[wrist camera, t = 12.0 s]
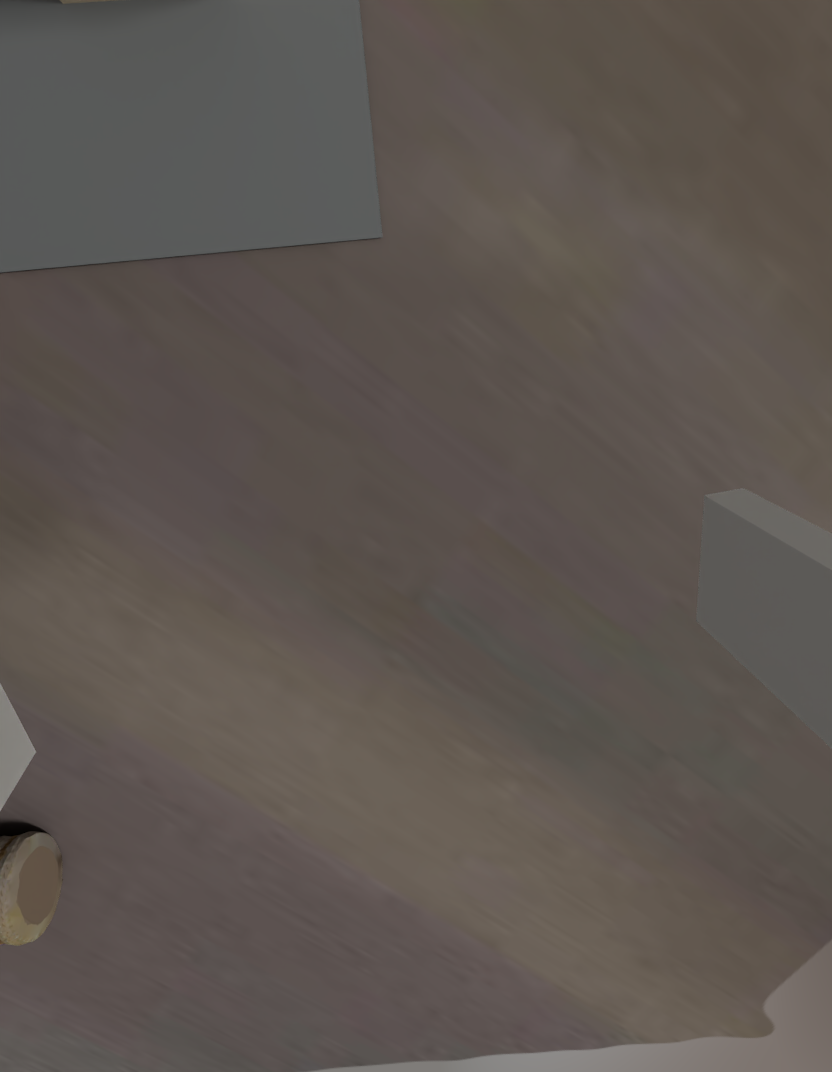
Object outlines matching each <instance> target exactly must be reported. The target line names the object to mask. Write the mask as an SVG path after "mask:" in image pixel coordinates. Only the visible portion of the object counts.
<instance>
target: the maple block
mask: <svg viewBox="0 0 832 1072" xmlns="http://www.w3.org/2000/svg"><path fill="white" fill-rule="evenodd" d="M60 1H61V2H62V3H63V4H66V3H83V2H99V1H116V0H60Z"/></svg>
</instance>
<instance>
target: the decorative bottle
mask: <svg viewBox="0 0 832 1072" xmlns="http://www.w3.org/2000/svg"><path fill="white" fill-rule="evenodd" d="M62 881H63V879H62V856H61V853H60V850H59V848H58V846H57V844H56V842H55V841H54V839H53V838H52V837H51V836H50V835H49V834H47V833H44V832H36V831H30V832H26V833H23V834H21V835H15V836H0V945H4V944H9V945H16V946H19V945H22V944H25V943H29V942H33V941H34V940H36V939H37V938H38V937H39V936H41V935H42V934H43V932H44V931H45V929H46V928H47V926H48V925H49V923H50V922H51V920H52V918H53V915H54V913H55V911H56V907H57V902H58V899H59V896H60V893H61V890H60V889H61V885H62Z"/></svg>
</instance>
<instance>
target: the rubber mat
mask: <svg viewBox="0 0 832 1072" xmlns="http://www.w3.org/2000/svg"><path fill="white" fill-rule="evenodd" d="M372 238H382V228H381V218H380V208H379V197H378V187H377V177H376V167H375V157H374V147H373V137H372V127H371V117H370V106H369V96H368V86H367V76H366V66H365V56H364V46H363V36H362V26H361V15H360V5H359V0H116V1H99V2H83V3H66V4H63V3H62V2H61V1H60V0H0V273H3V272H13V271H24V270H35V269H46V268H57V267H68V266H79V265H90V264H100V263H111V262H122V261H133V260H144V259H155V258H166V257H177V256H188V255H198V254H209V253H220V252H231V251H242V250H253V249H264V248H275V247H285V246H296V245H307V244H318V243H329V242H340V241H351V240H362V239H372Z"/></svg>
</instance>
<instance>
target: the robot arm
mask: <svg viewBox="0 0 832 1072" xmlns="http://www.w3.org/2000/svg"><path fill="white" fill-rule="evenodd" d="M696 621H697V622H698V623H699V624H700V625H701V626H702V627H703V628H704V629H705V630H706V631H707V632H708V633H709V634H710V635H711V636H713V637H714V638H715V639H716V640H717V641H718V642H719V643H720V644H721V645H722V646H723V647H724V648H725V649H726V650H727V651H728V652H730V653H731V654H732V655H733V656H734V657H735V658H736V659H737V660H738V661H739V662H740V663H741V664H742V665H743V666H744V667H745V668H747V669H748V670H749V671H750V672H751V673H752V674H753V675H754V676H755V677H756V678H757V679H758V680H759V681H760V682H761V683H762V684H764V685H765V686H766V687H767V688H768V689H769V690H770V691H771V692H772V693H773V694H774V695H775V696H776V697H777V698H778V699H779V700H781V701H782V702H783V703H784V704H785V705H786V706H787V707H788V708H789V709H790V710H791V711H792V712H793V713H794V714H795V715H796V716H797V717H799V718H800V719H801V720H802V721H803V722H804V723H805V724H806V725H807V726H808V727H809V728H810V729H811V730H812V731H813V732H814V733H816V734H817V735H818V736H819V737H820V738H821V739H822V740H823V741H824V742H825V743H826V744H827V745H828V746H829V747H830V748H831V749H832V533H830V532H828V531H826V530H824V529H822V528H820V527H818V526H816V525H814V524H812V523H810V522H808V521H806V520H804V519H802V518H801V517H799V516H797V515H795V514H793V513H791V512H789V511H787V510H785V509H783V508H781V507H779V506H777V505H775V504H773V503H771V502H769V501H768V500H766V499H764V498H762V497H760V496H758V495H756V494H754V493H752V492H750V491H748V490H746V489H744V488H742V489H736V490H731V491H725V492H720V493H714V494H709V495H704V509H703V524H702V540H701V555H700V570H699V586H698V601H697V617H696ZM35 753H36V751H35V749H34V747H33V745H32V743H31V741H30V739H29V737H28V735H27V733H26V731H25V730H24V728H23V726H22V724H21V722H20V720H19V718H18V716H17V714H16V712H15V710H14V709H13V707H12V705H11V703H10V701H9V699H8V697H7V695H6V693H5V691H4V689H3V688H2V686H1V684H0V811H1V809H2V807H3V806H4V804H5V802H6V801H7V799H8V797H9V796H10V794H11V792H12V791H13V789H14V788H15V786H16V784H17V783H18V781H19V779H20V778H21V776H22V774H23V773H24V771H25V769H26V768H27V766H28V765H29V763H30V761H31V760H32V758H33V756H34V755H35Z"/></svg>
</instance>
